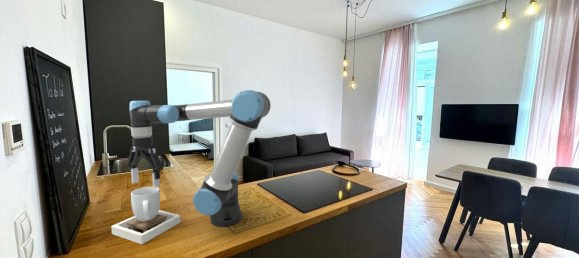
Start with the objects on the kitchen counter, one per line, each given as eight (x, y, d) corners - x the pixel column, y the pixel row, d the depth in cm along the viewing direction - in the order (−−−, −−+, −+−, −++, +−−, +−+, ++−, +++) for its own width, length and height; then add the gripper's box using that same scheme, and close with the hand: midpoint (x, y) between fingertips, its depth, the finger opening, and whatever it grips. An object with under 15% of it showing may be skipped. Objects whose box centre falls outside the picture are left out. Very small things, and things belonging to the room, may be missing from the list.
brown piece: (167, 224, 109) (166, 216, 108) (144, 236, 98) (144, 227, 98) (150, 219, 113) (150, 212, 112) (127, 231, 103) (126, 222, 102)
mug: (162, 224, 101) (160, 195, 99) (131, 231, 95) (129, 200, 94) (160, 211, 113) (159, 184, 112) (133, 216, 108) (131, 189, 106)
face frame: (180, 222, 111) (180, 215, 110) (141, 244, 93) (141, 236, 93) (152, 214, 118) (152, 208, 118) (111, 233, 101) (111, 226, 100)
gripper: (170, 136, 100) (173, 185, 102) (132, 134, 110) (135, 178, 112) (154, 139, 93) (158, 191, 95) (114, 136, 103) (118, 183, 105)
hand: (145, 184), depth 103 cm, fingers open, 13 cm apart
